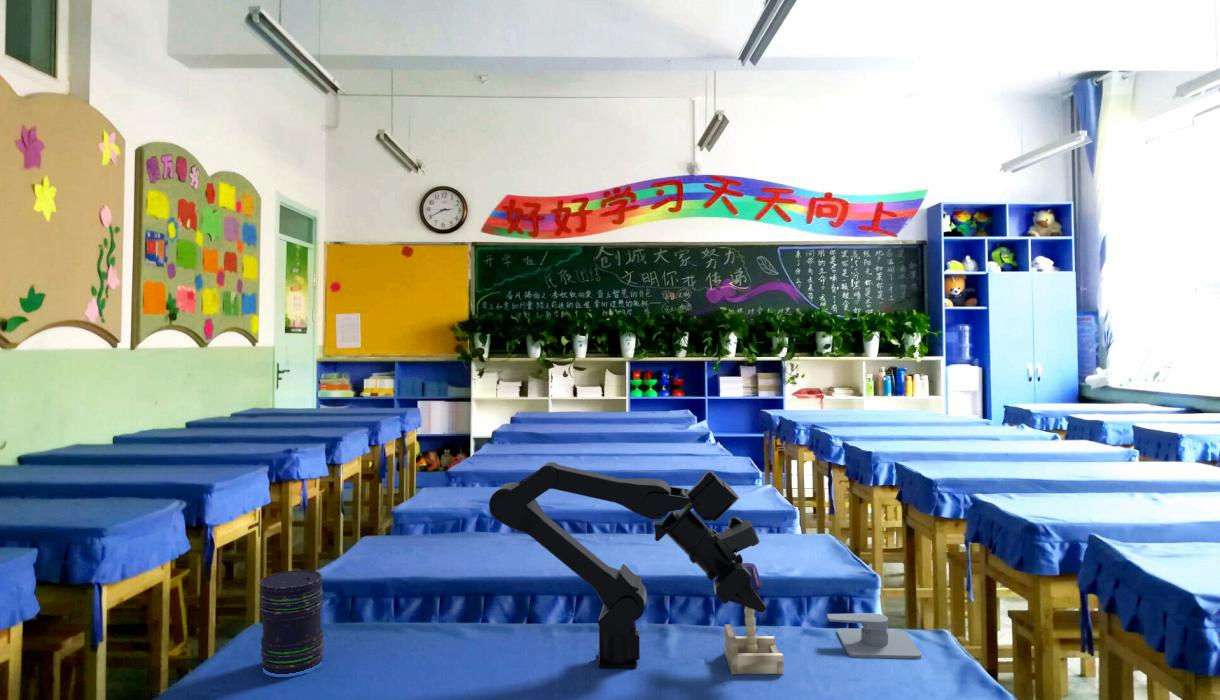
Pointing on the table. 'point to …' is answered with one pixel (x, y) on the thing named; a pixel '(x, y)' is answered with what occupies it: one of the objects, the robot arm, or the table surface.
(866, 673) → the table surface
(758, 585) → the toy lamp
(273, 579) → the storage jar
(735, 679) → the table surface
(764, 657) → the birch bracket
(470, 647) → the table surface
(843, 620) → the shower valve
